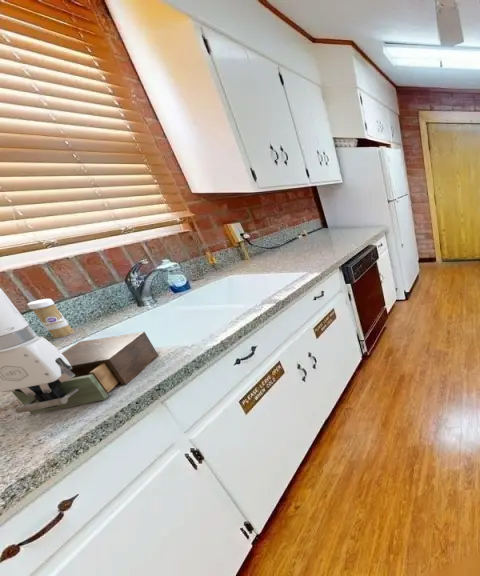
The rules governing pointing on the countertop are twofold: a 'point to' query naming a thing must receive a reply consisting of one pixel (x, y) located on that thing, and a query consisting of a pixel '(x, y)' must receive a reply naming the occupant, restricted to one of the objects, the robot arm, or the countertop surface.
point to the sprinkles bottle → (51, 317)
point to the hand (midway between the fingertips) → (56, 403)
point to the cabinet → (115, 354)
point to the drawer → (74, 389)
